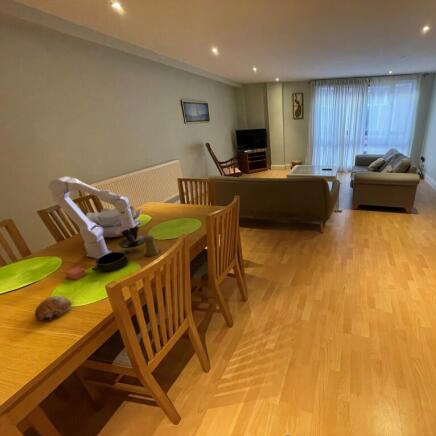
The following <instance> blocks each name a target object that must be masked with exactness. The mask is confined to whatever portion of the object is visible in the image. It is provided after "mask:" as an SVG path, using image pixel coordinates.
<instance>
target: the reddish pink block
mask: <svg viewBox="0 0 436 436" xmlns="http://www.w3.org/2000/svg"><path fill="white" fill-rule="evenodd" d="M65 274H66V277H67V278H68V279H71V280H75V281H77V280H79V279H80V278H83V277H84V276H87V272H86V270H85V269H84V268H82V267H81V268H80V267H77V266H75V267H73V268H72V269H69V270H67V271H65Z"/></svg>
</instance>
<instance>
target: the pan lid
mask: <svg viewBox="0 0 436 436" xmlns="http://www.w3.org/2000/svg"><path fill="white" fill-rule="evenodd" d="M144 236H145V235H144ZM144 236H142V235H137V239H136V240H135V237H134V235H131V238H132V242H129V241H128V240H127V238H125V239H122V240H121V241H120V242H119V243H118V246H119V248H121V249H132V248H136V247H139V246H141V245H143V244H146V242H145V241H144Z"/></svg>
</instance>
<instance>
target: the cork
mask: <svg viewBox="0 0 436 436" xmlns="http://www.w3.org/2000/svg"><path fill="white" fill-rule="evenodd" d="M144 241H145V253H146V256H148V257H153V256H156V255H158V254H159V253H160V251H159V249H158V247H157V244H156V241H155V236H154V235H153V234H146V235H144Z"/></svg>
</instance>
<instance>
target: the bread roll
mask: <svg viewBox="0 0 436 436" xmlns="http://www.w3.org/2000/svg"><path fill="white" fill-rule="evenodd" d="M71 307H72V302H71V300H70V299H69V298H68V297H65V296H61V295H53V296H50V297H46V298H45V299H44V300H42V301H41V302H40V303H39V305H37V306H36V309H35V310H34V315H35V319H36V320H37V321H40V322H48V321H52V320H55V319H57V318H59V317H61V316H62V315H64V314H66V313H67V312H68V311H69V310H70V309H71Z"/></svg>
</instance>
